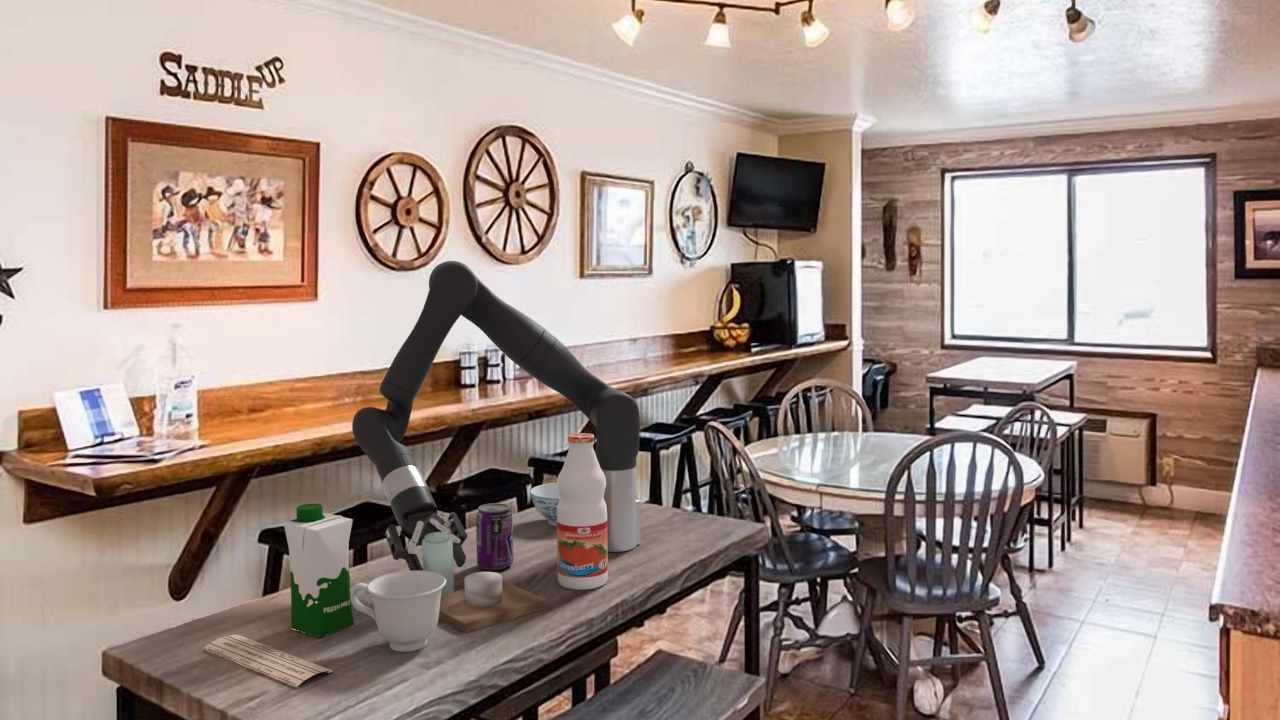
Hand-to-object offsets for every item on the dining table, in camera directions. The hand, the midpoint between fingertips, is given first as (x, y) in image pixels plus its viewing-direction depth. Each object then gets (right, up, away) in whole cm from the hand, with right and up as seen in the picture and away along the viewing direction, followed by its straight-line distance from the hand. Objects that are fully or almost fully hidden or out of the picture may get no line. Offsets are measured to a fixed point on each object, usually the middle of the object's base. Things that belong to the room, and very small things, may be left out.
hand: (441, 569), depth 165 cm
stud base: (+9, -5, -6) cm, 12 cm away
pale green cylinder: (-1, -5, +1) cm, 5 cm away
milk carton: (-17, -6, -14) cm, 23 cm away
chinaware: (+18, 0, +48) cm, 51 cm away
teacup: (-2, -7, -21) cm, 22 cm away
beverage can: (+7, -3, +17) cm, 18 cm away
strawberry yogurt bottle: (+25, -4, +7) cm, 26 cm away
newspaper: (-20, -8, -26) cm, 34 cm away
